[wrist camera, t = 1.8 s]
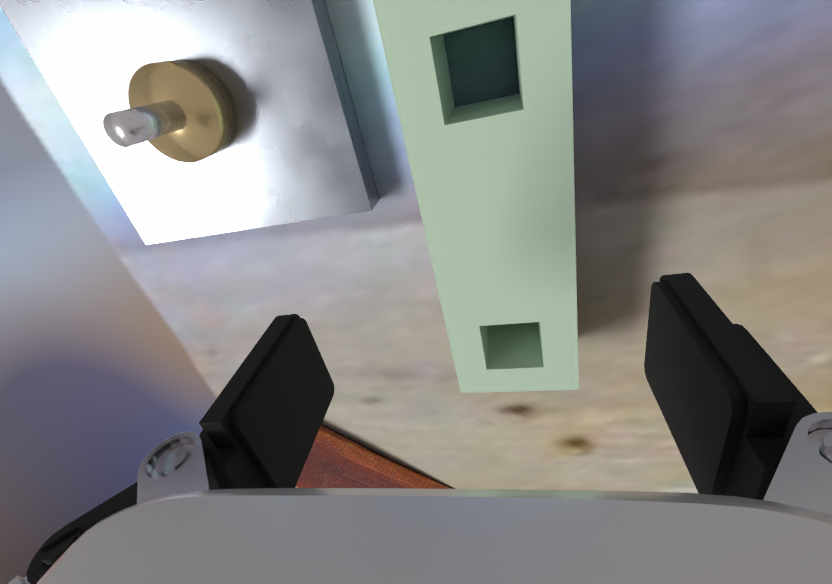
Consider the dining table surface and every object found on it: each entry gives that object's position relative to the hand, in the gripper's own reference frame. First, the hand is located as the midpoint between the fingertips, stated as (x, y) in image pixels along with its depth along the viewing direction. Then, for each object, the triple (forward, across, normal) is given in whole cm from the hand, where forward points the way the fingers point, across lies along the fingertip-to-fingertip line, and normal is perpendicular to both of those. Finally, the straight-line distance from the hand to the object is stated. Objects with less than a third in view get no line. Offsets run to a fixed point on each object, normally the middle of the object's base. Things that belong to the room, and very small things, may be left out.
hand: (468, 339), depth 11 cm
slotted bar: (+11, -1, 0) cm, 11 cm away
